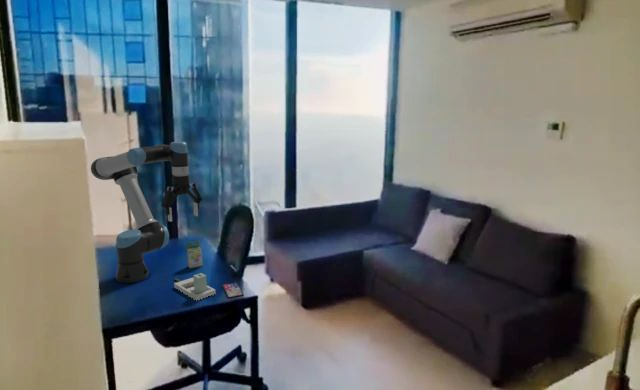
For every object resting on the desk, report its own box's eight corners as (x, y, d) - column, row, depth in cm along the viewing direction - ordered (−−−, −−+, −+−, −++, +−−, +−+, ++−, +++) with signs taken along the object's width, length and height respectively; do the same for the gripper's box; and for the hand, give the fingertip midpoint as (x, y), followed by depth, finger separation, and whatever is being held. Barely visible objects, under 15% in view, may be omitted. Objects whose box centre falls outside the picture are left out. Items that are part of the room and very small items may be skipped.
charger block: (194, 293, 208) (193, 275, 206) (202, 290, 211) (201, 272, 209) (199, 296, 205) (198, 277, 203) (207, 293, 208) (206, 275, 206)
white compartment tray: (165, 282, 221) (165, 278, 221) (184, 276, 228) (184, 272, 228) (196, 301, 202) (196, 296, 201) (215, 294, 209) (215, 289, 208)
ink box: (189, 268, 238) (188, 244, 235) (187, 266, 242) (186, 242, 239) (202, 266, 242) (201, 242, 239) (200, 264, 245) (199, 240, 242)
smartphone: (227, 297, 205) (221, 284, 218) (227, 299, 205) (221, 286, 218) (244, 294, 207) (237, 282, 221) (244, 296, 208) (237, 283, 221)
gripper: (159, 179, 201) (162, 225, 206) (208, 172, 219) (210, 215, 223) (151, 177, 206) (154, 221, 211) (199, 170, 224) (202, 212, 228)
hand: (183, 218), depth 217 cm, fingers open, 13 cm apart
